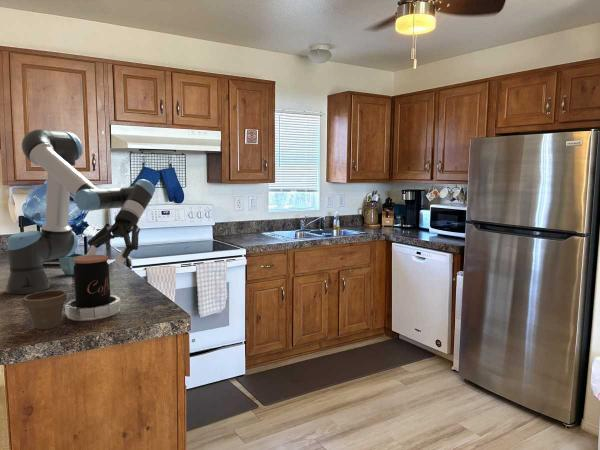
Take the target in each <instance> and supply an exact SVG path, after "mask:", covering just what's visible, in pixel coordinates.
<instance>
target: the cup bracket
mask: <svg viewBox="0 0 600 450" xmlns="http://www.w3.org/2000/svg"><path fill="white" fill-rule="evenodd" d="M110 295H111V294H110ZM121 301H122V300H121V297H120V296H118V295H111V303H109V304H107V305H102V306H96V307H85V308H80V307H76V298H75V299H70V300H69V301H68V302H65V303H64V309H65V316H66V318H67V319H68V320H69V321H75V322H76V321H77V322H79V321H80V322H89V321H94V320H95V321H97V320H102V319H106V318H109V317H113V316H115V315H118V314H119V313H120V312H121V308H122V304H121V303H122V302H121Z"/></svg>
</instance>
